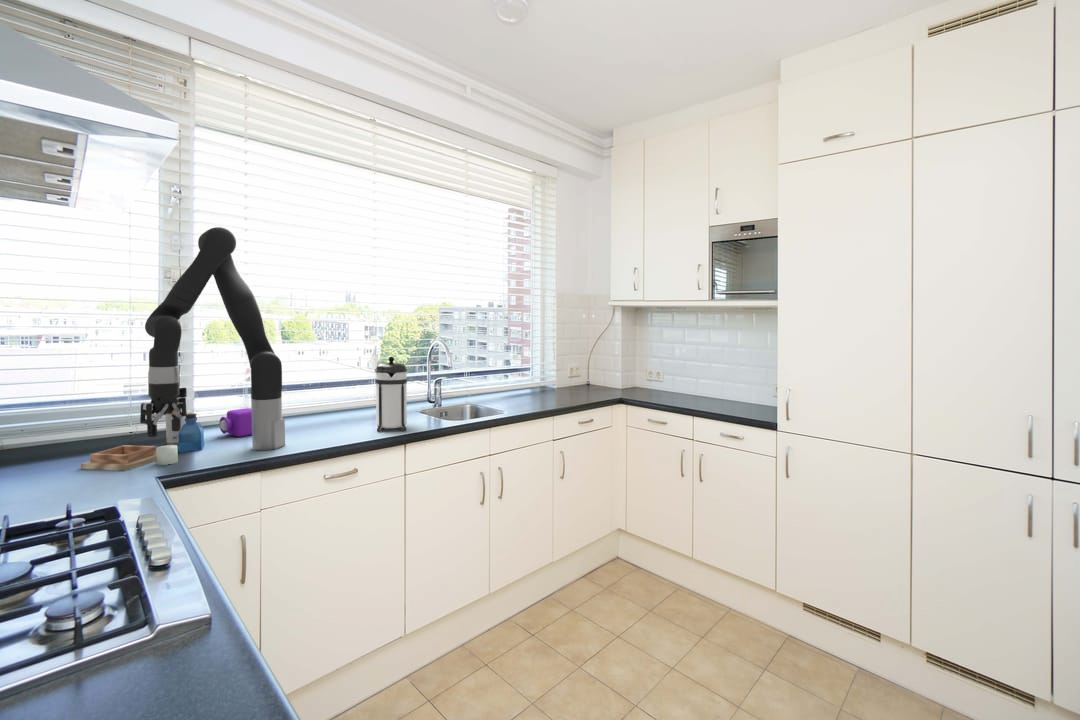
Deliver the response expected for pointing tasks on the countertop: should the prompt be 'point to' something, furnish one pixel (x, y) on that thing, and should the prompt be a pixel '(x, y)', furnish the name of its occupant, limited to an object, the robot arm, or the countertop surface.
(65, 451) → the countertop surface
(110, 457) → the socket stand
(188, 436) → the perfume bottle
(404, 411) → the coffee press
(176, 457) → the white cube
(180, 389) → the travel mug
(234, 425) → the toy camera
